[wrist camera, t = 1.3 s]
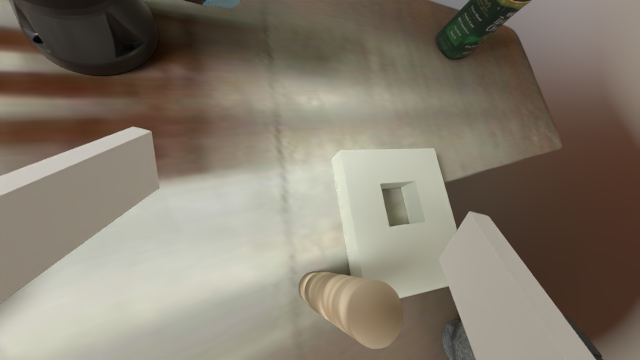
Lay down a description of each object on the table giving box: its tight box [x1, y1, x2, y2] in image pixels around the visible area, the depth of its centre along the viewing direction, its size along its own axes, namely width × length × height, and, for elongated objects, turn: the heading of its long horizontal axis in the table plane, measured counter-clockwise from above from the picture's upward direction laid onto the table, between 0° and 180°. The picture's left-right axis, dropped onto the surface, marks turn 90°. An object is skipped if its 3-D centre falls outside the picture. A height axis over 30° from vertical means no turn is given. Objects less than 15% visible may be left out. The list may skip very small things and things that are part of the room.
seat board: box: [332, 148, 457, 298], centre depth 40 cm, size 22×18×4 cm
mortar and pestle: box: [442, 319, 476, 360], centre depth 34 cm, size 11×9×12 cm
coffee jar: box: [437, 0, 531, 58], centre depth 52 cm, size 10×8×19 cm
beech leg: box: [299, 272, 403, 349], centre depth 27 cm, size 5×5×18 cm
